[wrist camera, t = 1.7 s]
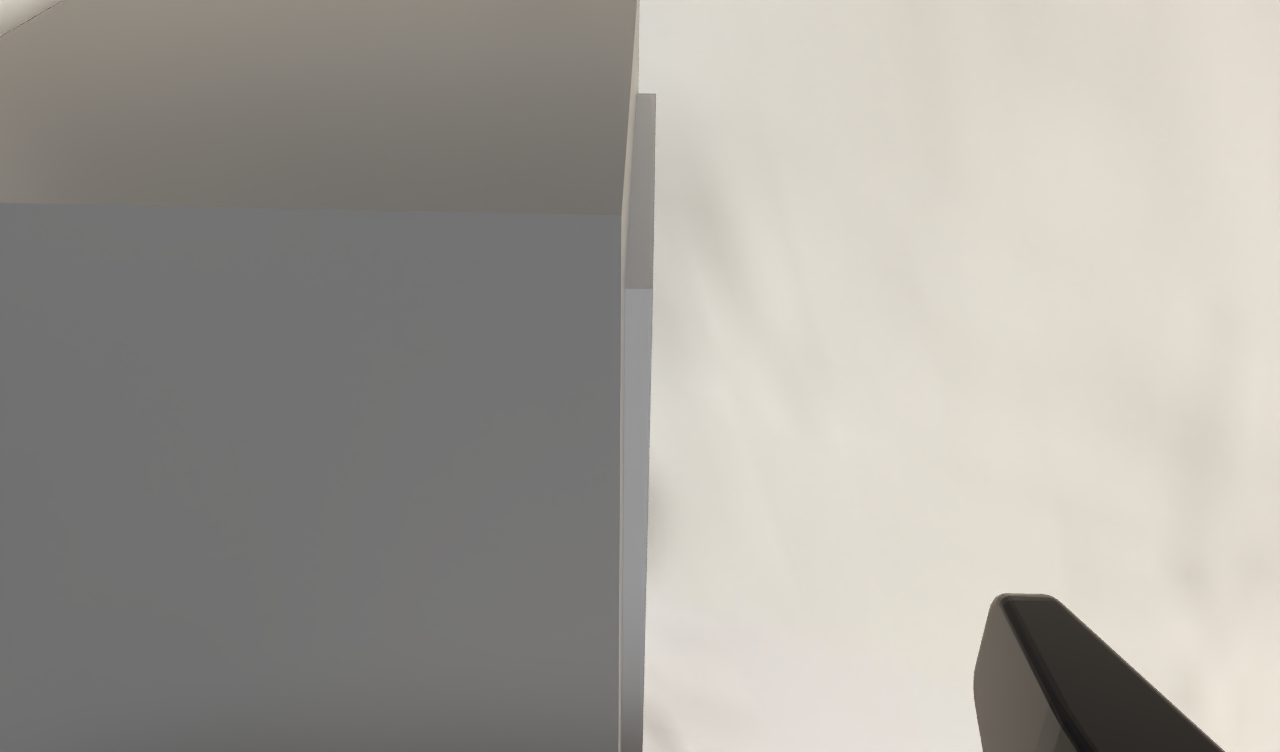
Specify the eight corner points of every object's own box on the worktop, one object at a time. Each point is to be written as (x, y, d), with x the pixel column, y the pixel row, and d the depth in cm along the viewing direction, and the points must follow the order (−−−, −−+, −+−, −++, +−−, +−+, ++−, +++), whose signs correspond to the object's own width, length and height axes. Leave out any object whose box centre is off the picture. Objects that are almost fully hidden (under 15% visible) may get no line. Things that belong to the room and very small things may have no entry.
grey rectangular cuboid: (642, 651, 14) (635, 1103, 9) (298, 644, 14) (135, 1090, 9) (659, -42, 9) (655, 216, 5) (151, -53, 9) (-274, 199, 5)
